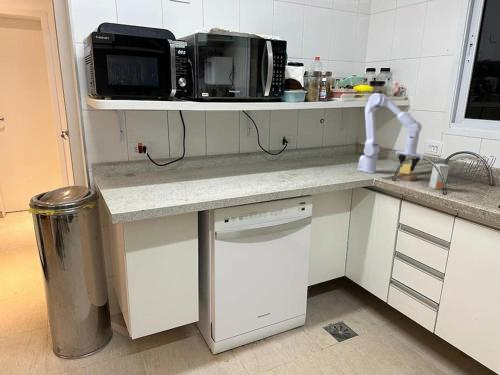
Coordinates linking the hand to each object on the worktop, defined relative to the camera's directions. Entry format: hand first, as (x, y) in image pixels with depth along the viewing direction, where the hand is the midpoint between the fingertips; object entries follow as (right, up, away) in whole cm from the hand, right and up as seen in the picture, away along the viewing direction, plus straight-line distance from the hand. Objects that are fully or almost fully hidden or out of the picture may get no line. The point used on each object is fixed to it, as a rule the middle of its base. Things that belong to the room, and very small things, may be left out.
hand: (406, 169), depth 189 cm
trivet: (0, -5, +1) cm, 5 cm away
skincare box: (+8, -10, -16) cm, 20 cm away
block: (0, -2, 0) cm, 2 cm away
